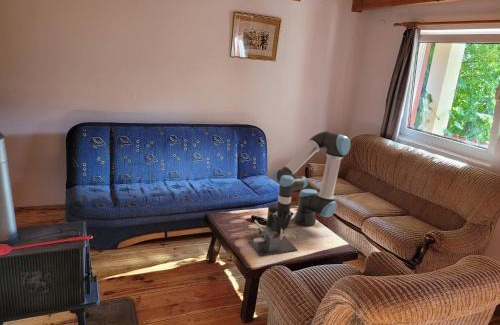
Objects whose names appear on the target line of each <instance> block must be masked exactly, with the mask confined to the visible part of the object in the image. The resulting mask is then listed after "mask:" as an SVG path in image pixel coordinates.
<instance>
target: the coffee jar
mask: <svg viewBox="0 0 500 325" xmlns="http://www.w3.org/2000/svg"><path fill="white" fill-rule="evenodd" d="M277 204H278V202H271V203H269V204H268V207H267V208H268V209H267V215H266V216H267V218H266V226H265V227H270V228H271V229H272V230H273V231H276V232H277V231H278V229H276V228H275V224H274V216H273V215H272V214H273V213H276V210H277ZM277 219H279V217H278V214H277Z"/></svg>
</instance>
